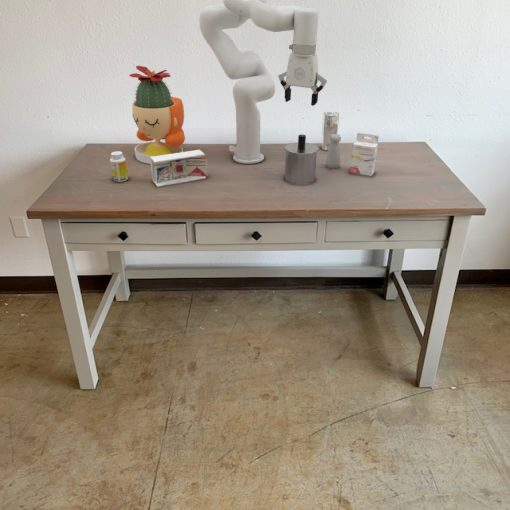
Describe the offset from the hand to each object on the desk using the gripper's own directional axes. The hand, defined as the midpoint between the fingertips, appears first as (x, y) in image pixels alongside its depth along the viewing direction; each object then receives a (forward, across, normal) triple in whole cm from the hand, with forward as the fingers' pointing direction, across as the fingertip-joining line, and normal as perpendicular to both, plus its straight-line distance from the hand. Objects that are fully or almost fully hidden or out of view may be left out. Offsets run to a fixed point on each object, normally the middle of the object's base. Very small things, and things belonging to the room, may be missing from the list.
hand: (300, 102), depth 167 cm
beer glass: (+28, 0, +36) cm, 45 cm away
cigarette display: (+28, -36, -23) cm, 51 cm away
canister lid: (+16, +2, -2) cm, 16 cm away
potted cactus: (+29, -58, -4) cm, 65 cm away
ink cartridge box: (+27, +21, +14) cm, 37 cm away
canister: (+27, +3, -2) cm, 27 cm away
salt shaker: (+27, +9, +15) cm, 32 cm away
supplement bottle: (+28, -56, -33) cm, 71 cm away
